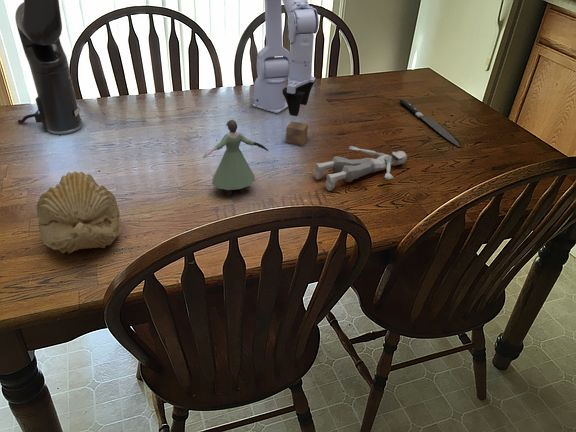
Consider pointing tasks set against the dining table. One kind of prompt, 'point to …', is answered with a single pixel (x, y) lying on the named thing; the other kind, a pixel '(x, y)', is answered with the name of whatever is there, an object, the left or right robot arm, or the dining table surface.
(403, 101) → the knife
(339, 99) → the dining table surface
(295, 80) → the right robot arm
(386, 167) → the figurine
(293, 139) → the brown cube-like block
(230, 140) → the character figurine
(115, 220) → the fossil
